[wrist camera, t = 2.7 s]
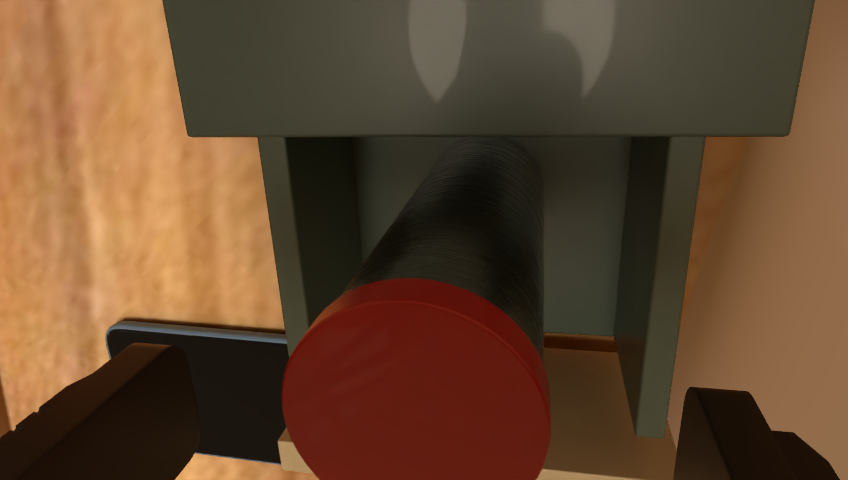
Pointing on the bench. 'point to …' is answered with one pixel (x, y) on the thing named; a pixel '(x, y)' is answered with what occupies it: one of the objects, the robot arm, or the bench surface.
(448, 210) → the spice tin
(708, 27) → the cabinet
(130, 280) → the bench surface
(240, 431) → the smartphone
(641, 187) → the drawer
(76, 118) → the bench surface
